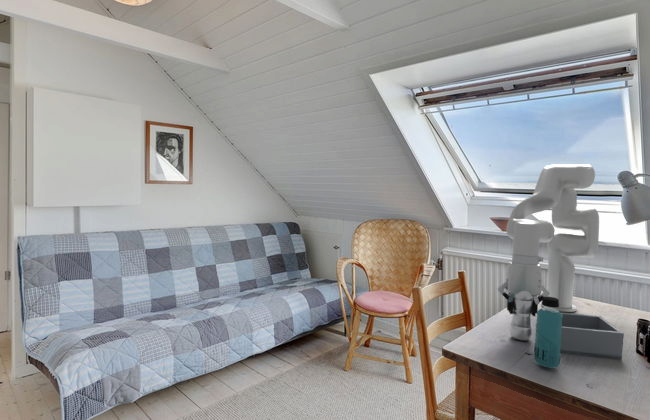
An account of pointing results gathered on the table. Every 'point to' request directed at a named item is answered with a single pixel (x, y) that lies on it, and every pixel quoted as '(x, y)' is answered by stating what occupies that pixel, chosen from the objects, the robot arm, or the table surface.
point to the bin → (590, 337)
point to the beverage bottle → (548, 334)
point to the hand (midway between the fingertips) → (521, 313)
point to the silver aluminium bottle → (521, 316)
